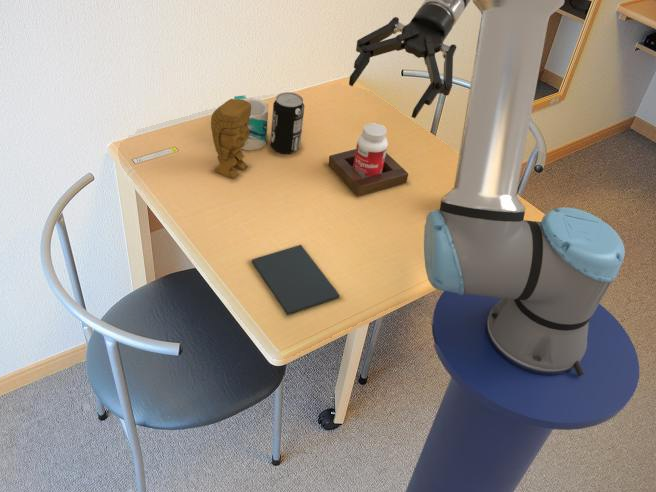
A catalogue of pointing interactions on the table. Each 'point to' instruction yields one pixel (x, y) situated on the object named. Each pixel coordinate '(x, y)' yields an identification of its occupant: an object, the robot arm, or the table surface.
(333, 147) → the table surface
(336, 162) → the holder
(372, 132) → the pill bottle
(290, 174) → the table surface
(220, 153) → the figurine
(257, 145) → the mug
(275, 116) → the beverage can
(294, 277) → the mat
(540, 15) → the robot arm
